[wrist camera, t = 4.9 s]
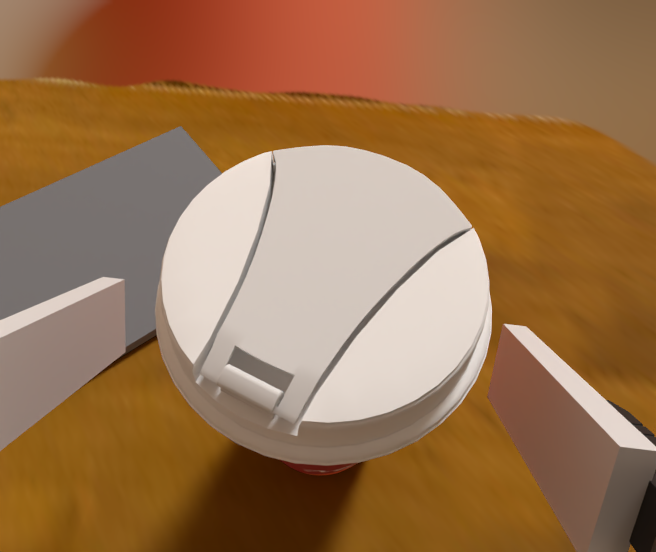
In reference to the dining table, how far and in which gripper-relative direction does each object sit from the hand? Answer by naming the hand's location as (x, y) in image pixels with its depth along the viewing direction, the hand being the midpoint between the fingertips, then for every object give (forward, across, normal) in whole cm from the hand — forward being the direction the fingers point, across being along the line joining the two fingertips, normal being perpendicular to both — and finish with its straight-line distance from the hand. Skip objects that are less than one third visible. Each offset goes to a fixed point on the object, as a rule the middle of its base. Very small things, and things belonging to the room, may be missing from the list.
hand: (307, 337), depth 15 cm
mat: (+10, -13, 0) cm, 16 cm away
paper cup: (+5, +1, -6) cm, 8 cm away
